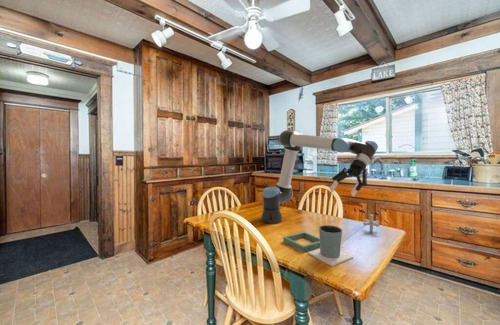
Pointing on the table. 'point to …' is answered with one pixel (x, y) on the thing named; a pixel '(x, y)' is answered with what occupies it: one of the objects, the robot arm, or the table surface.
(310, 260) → the table surface
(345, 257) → the ceramic tile
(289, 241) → the square holder
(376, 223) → the pipe connector
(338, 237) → the grey-green cup
